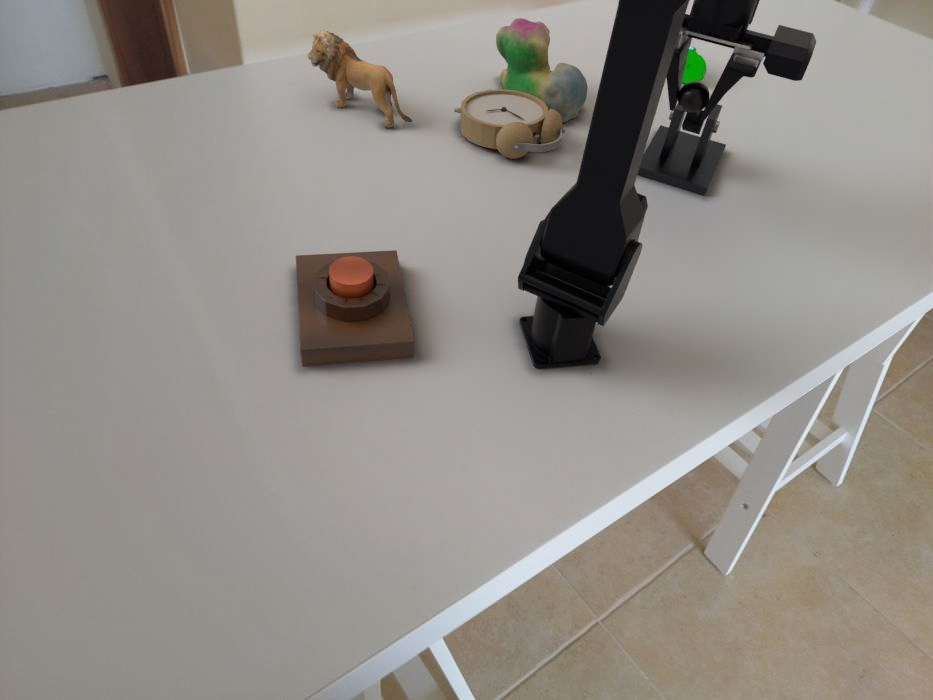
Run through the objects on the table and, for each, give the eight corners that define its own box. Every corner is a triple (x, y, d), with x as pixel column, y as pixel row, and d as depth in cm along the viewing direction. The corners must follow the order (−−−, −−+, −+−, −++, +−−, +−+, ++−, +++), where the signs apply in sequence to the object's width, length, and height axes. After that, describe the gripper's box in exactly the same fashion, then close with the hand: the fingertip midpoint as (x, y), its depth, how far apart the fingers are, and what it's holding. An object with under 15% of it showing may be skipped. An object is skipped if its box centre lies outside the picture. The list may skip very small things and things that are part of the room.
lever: (702, 113, 76) (714, 82, 75) (672, 105, 77) (684, 74, 76) (701, 138, 92) (711, 113, 91) (677, 131, 93) (686, 106, 92)
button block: (413, 357, 67) (415, 326, 64) (302, 366, 65) (298, 335, 62) (396, 266, 76) (396, 235, 73) (297, 272, 74) (294, 240, 71)
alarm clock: (506, 81, 100) (587, 110, 91) (506, 117, 103) (584, 148, 94) (441, 102, 95) (520, 134, 86) (443, 138, 98) (520, 174, 89)
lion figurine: (304, 103, 98) (299, 35, 91) (326, 87, 101) (322, 20, 95) (402, 134, 94) (404, 66, 88) (421, 116, 98) (424, 49, 91)
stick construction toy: (630, 44, 114) (669, 3, 111) (644, 59, 120) (682, 21, 117) (677, 97, 110) (720, 57, 107) (690, 110, 116) (730, 72, 113)
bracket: (704, 196, 90) (725, 139, 85) (634, 174, 92) (650, 117, 87) (723, 152, 98) (744, 97, 92) (658, 132, 100) (674, 78, 95)
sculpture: (595, 111, 103) (611, 40, 96) (557, 130, 98) (571, 57, 91) (516, 72, 109) (525, 2, 102) (477, 88, 105) (484, 17, 97)
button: (375, 297, 67) (375, 283, 66) (331, 300, 66) (330, 285, 65) (371, 269, 70) (371, 255, 69) (328, 271, 69) (327, 257, 68)
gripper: (850, -43, 71) (785, 108, 82) (663, -85, 75) (626, 63, 86) (840, -10, 64) (771, 152, 75) (633, -58, 68) (597, 101, 79)
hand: (688, 113), depth 79 cm, fingers closed on lever, 3 cm apart
